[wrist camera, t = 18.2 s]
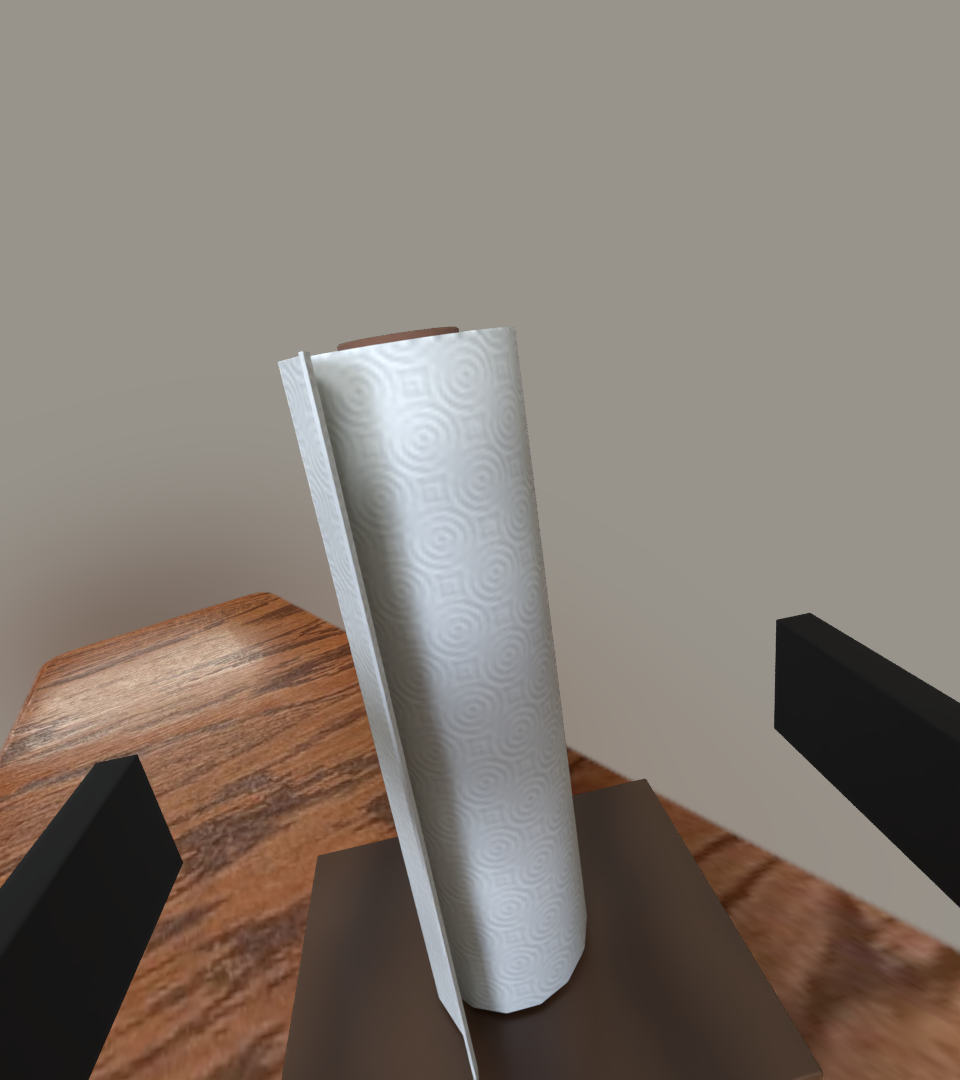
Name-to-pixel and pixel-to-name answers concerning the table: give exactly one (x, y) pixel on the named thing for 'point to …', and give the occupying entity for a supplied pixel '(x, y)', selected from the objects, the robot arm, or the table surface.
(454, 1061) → the drawer box
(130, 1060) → the table surface
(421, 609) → the paper towel roll
